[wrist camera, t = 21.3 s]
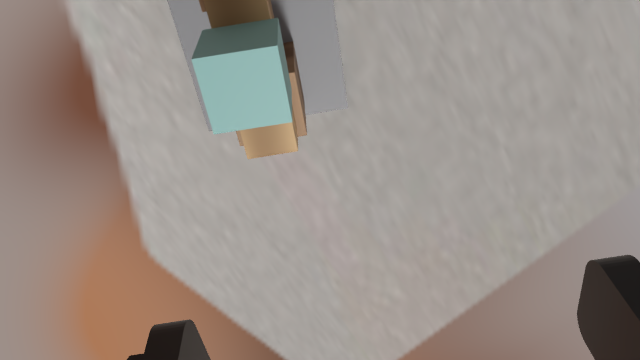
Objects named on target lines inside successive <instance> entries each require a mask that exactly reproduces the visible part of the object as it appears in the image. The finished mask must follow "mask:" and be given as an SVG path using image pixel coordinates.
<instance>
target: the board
mask: <svg viewBox="0 0 640 360" xmlns="http://www.w3.org/2000/svg"><path fill="white" fill-rule="evenodd" d="M167 1H168V4H169V7H170V10H171V13H172V17H173V20H174V23H175V26H176V29H177V32H178V35H179V39H180V42H181V45H182V48H183V51H184V54H185V57H186V60H187V64H188V67H189V70H190V73H191V76H192V79H193V82H194V86H195V89H196V92H197V95H198V98H199V101H200V104H201V107H202V111H203V114H204V117H205V120H206V123H207V126H208V129H209V131H213V130H212V127H211V123H210V120H209V117H208V113H207V110H206V107H205V103H204V100H203V97H202V93H201V90H200V87H199V83H198V80H197V77H196V73H195V70H194V67H193V63H192V60H191V59H192V56H193V53H194V51H195V48H196V45H197V43H198V40H199V38H200V35H201V32H202V30H205V29H211V25H210V22H209V18H208V15H207V12H202V10H201V6H200V3H199V0H167ZM271 5H272V10H273V15H274V18H278V19H279V25H280V30H281V35H282V40H283V43H286V42H292V41H293V43H294V48H295V53H296V58H297V64H298V69H299V74H300V79H301V85H302V90H303V95H304V103H305V115H310V114H316V113H322V112H328V111H334V110H340V109H346V108H348V103H347V96H346V89H345V82H344V74H343V67H342V60H341V53H340V45H339V38H338V31H337V24H336V16H335V9H334V2H333V0H271Z"/></svg>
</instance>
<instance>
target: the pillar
mask: <svg viewBox="0 0 640 360" xmlns="http://www.w3.org/2000/svg"><path fill="white" fill-rule="evenodd" d="M283 46H284V51H285V56H286V62H287V67H288V72H289V77H290V83H291V88H292V107H293V112H294V117H295V121H296V126H297V137H299V136H305V135H307V130H306V116H305V103H304V95H303V90H302V85H301V79H300V74H299V69H298V64H297V58H296V53H295V48H294V43H293V41H292V42H286V43H283ZM236 133H237V136H238V140H239V143H240V146H244V144H243V140H242V137H241V133H240V130H239V131H236Z"/></svg>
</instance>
